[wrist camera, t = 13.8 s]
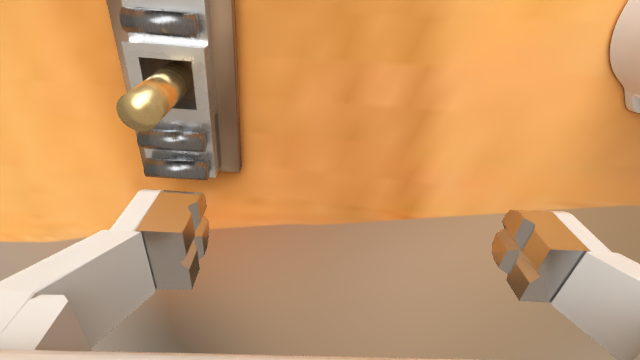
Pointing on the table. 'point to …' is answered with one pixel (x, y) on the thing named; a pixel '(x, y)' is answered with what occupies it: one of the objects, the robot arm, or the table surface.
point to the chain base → (223, 70)
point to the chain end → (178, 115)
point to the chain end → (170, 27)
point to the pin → (155, 96)
